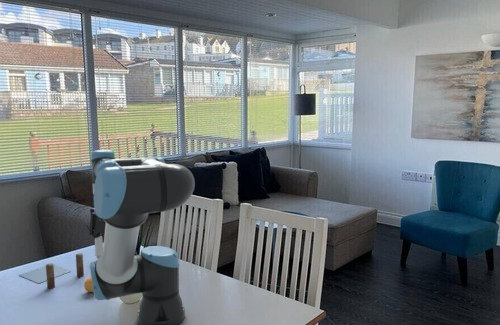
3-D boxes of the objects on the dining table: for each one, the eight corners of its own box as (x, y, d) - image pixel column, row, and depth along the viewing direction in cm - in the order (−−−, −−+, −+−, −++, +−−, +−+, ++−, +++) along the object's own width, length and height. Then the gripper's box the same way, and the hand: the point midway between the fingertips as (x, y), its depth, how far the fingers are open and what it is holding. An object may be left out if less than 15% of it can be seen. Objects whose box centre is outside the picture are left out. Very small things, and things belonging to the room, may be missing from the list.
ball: (103, 290, 152) (102, 276, 151) (90, 296, 148) (90, 281, 147) (94, 286, 155) (93, 273, 154) (81, 292, 150) (80, 278, 150)
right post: (85, 275, 165) (84, 254, 164) (79, 277, 163) (78, 256, 162) (81, 274, 167) (80, 252, 165) (75, 276, 165) (74, 254, 163)
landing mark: (71, 271, 169) (71, 271, 169) (38, 283, 157) (38, 283, 157) (51, 264, 177) (51, 263, 177) (18, 275, 165) (18, 275, 165)
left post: (56, 286, 155) (54, 264, 154) (49, 289, 153) (48, 266, 151) (52, 285, 156) (50, 262, 155) (45, 287, 154) (44, 265, 153)
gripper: (134, 196, 139) (136, 260, 142) (94, 189, 150) (97, 248, 153) (116, 200, 132) (119, 267, 135) (76, 192, 143) (79, 254, 147)
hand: (107, 257), depth 144 cm, fingers open, 8 cm apart
